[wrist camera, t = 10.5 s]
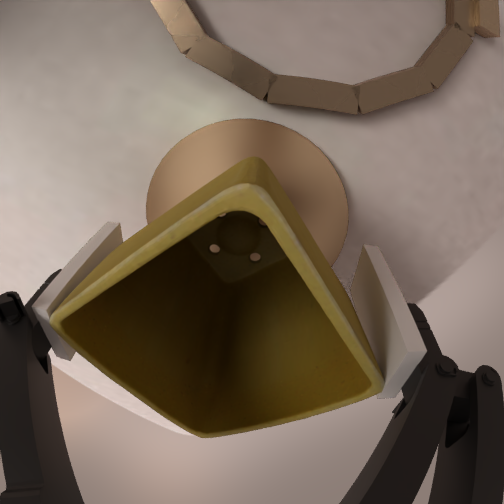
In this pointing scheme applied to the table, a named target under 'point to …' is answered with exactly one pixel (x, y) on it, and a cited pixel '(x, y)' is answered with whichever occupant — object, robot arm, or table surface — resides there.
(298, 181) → the coaster
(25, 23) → the table surface
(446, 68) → the socket ring
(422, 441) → the robot arm
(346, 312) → the flower pot
